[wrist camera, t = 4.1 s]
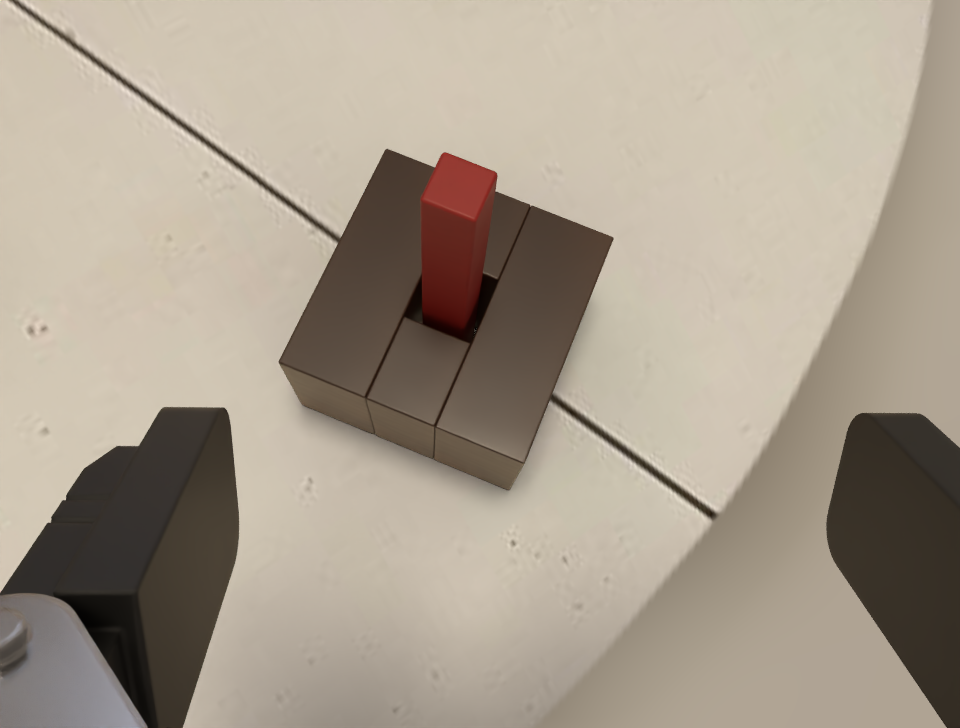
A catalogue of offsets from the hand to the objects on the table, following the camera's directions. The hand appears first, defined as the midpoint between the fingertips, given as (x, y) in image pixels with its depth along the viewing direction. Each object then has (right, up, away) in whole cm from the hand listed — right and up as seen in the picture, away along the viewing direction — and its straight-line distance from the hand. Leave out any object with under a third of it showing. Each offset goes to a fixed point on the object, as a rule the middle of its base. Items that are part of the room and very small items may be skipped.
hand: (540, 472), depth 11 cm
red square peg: (-2, +2, +20) cm, 20 cm away
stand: (-2, +2, +20) cm, 20 cm away
